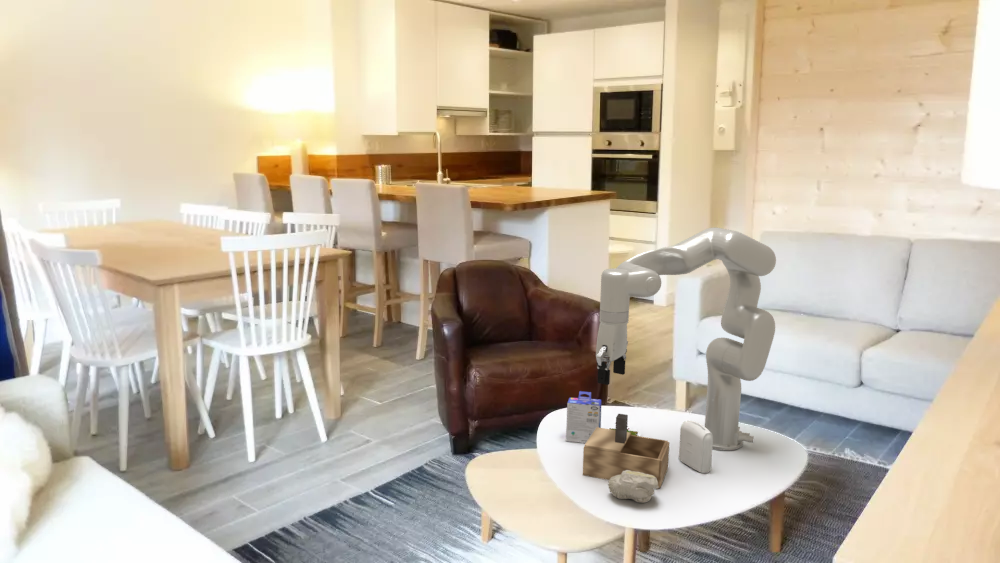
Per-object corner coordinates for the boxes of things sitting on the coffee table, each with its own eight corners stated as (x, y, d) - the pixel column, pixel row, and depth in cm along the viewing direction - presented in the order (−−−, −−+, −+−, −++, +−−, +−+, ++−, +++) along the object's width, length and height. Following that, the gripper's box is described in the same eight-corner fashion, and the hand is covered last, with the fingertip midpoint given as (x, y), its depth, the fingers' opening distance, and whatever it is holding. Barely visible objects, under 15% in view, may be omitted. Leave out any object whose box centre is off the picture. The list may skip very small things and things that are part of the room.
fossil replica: (606, 489, 194) (613, 512, 185) (605, 461, 192) (612, 482, 182) (652, 485, 194) (661, 508, 185) (652, 457, 192) (661, 478, 182)
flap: (584, 446, 200) (585, 420, 198) (596, 429, 211) (597, 403, 210) (620, 453, 196) (621, 425, 195) (630, 434, 208) (631, 408, 206)
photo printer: (676, 459, 211) (678, 418, 209) (688, 457, 213) (691, 415, 210) (700, 475, 202) (703, 432, 200) (713, 472, 204) (716, 429, 201)
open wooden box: (668, 468, 206) (669, 441, 204) (659, 489, 194) (661, 460, 192) (594, 455, 213) (595, 429, 212) (582, 475, 201) (583, 447, 200)
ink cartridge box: (600, 437, 226) (602, 391, 223) (599, 445, 220) (601, 398, 217) (567, 434, 228) (569, 389, 225) (565, 441, 222) (567, 395, 219)
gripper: (614, 307, 206) (612, 367, 209) (586, 321, 191) (583, 384, 195) (640, 311, 202) (637, 372, 205) (613, 325, 187) (610, 390, 191)
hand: (611, 378), depth 200 cm, fingers open, 9 cm apart
